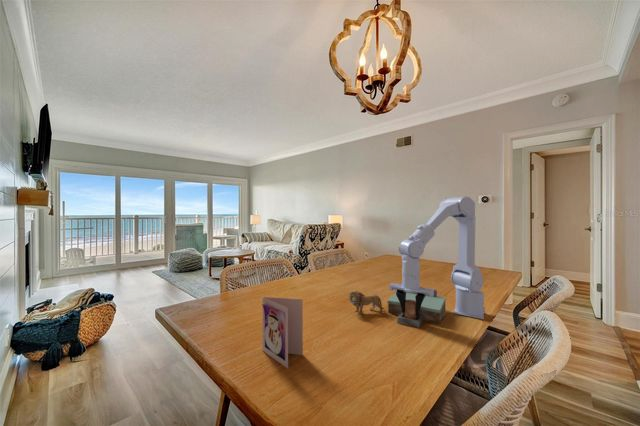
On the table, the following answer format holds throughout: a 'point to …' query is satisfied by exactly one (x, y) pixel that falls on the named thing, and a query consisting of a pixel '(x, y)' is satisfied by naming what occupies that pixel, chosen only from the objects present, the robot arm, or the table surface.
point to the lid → (427, 304)
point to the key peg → (410, 309)
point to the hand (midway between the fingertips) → (410, 313)
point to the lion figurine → (364, 301)
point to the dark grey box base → (422, 316)
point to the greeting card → (282, 328)
